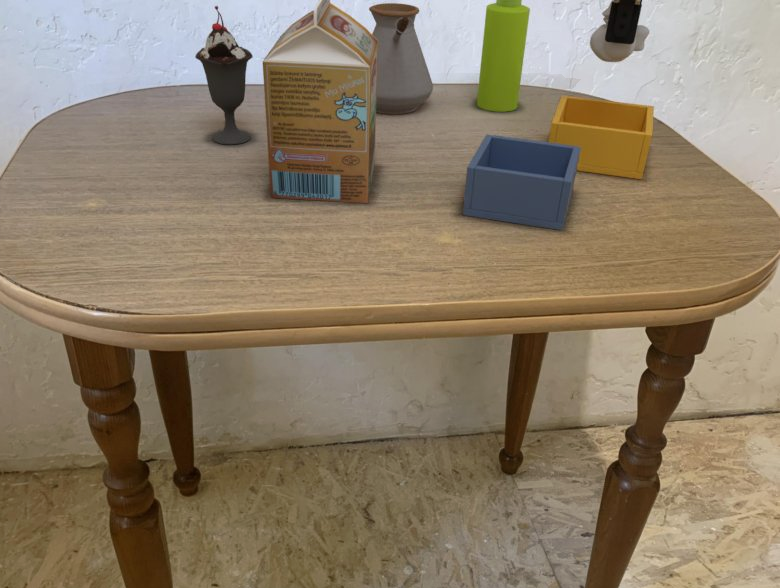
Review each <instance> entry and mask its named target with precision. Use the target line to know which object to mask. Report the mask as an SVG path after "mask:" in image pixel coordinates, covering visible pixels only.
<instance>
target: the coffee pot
mask: <svg viewBox="0 0 780 588" xmlns="http://www.w3.org/2000/svg"><path fill="white" fill-rule="evenodd" d="M368 10H369V12H370V13H371V15H372V17H373V20H374V22H375V26H374V29H373V31H372V33H371V34H372V35H373V36H374V37H375V38H376V40H377V41H378V49H377V91H376V113H379V114H381V113H382V114H389V115H401V114H403V115H404V114H408V113H413V112H415V111H417V110H418V109H419V108H420V106H421V105H424V104H425V102H427V100H428V99H429V98H430V96H431V94H432V93H433V90H434V83H433V80H432V78H431V75H430V72H429V69H428V65H427V62H426V60H425V56H424V53H423V50H422V47H421V44H420V41H419V37H418V35H417V32H416V29H415V20H416V17H417V15H418V14H419V13H420V8H419V7H417V6H415V5H411V4H407V3H397V2H391V3H390V2H387V3H386V2H385V3H378V4H374V5H372V6H370V7H368Z"/></svg>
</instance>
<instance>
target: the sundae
mask: <svg viewBox="0 0 780 588" xmlns="http://www.w3.org/2000/svg"><path fill="white" fill-rule="evenodd" d="M214 9H215V10H216V12H217V20H216V22H215V23H213V24H212V25H211V29H212V30H211V31H210V33H209V34H207V37H206V41H205V46H204V47H202V48H201V49H200V50H199V51H197V52H196V53H195V59H197V60H198V61H200V63H201V64H202V67H203V71H204V74H205V78H206V84H207V88H208V91H209V95H210V99H211V100H212V102H213V104H215V105H216V107H217V108H219V109H220V110H221V111H223V114H224V127H223V129H222V130H220V131H218V132H215V133H214V134H212V135H211V140H212V141H213V142H215V143H217V144H220V145H225V146H226V145H227V146H235V145H240V144H241V145H242V144H245V143H247V142H249V141H250V140H251V139H252V135H251V134H250V133H249V132H247V131H244V130H240V129H239V128H238V126H237V124H236V118H235V112H236V110H237V109H238V108H239V107H240V106H241V105H242V104H243V102H244V101H245V96H246V95H245V94H246V73H247V66H248V63H249V60H251V59H252V58H253V54H252V53H251V51H249V50H248V49H247V48H244V47H243V46H239V44H238V42H237V41H236V38H235V37H234V36H233V34H232V33H231V32H230V31H229V30H228V28H227V27H226V26H225V23H224V20H223V16H222V14H221V12H220V11H219V6H218V5H215V6H214ZM219 20H220V21H221V24H220V23H219V22H220V21H219Z"/></svg>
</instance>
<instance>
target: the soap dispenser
mask: <svg viewBox="0 0 780 588" xmlns="http://www.w3.org/2000/svg"><path fill="white" fill-rule="evenodd" d="M522 1H523V0H495V2H493V3H489V4H487V5H486V6H485V7H486V8H485V9H486V10H485V20H484V28H483V30H484V31H483V37H482V48H481V57H480V69H479V77H478V87H477V88H478V89H477V98H476V106H477V107H478V108H479V109H482V110H485V111H490V112H496V113H505V112H506V113H507V112H513V111H515V110H517V108H518V103H519V96H520V87H521V82H522V81H521V79H522V73H523V66H524V59H525V57H524V56H525V50H526V44H527V43H526V42H527V36H528V29H529V19H530V14H531V13H530V11H531V8H530V7H528V6H526V5H523V4H522Z"/></svg>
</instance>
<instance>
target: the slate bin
mask: <svg viewBox="0 0 780 588" xmlns="http://www.w3.org/2000/svg"><path fill="white" fill-rule="evenodd" d="M580 150H581V147H579V146H572V145H565V144H557V143H549V142H548V141H541V140H533V139H526V138H519V137H511V136H510V137H509V136H504V135H503V136H502V135H496V134H495V135H494V134H485V136H484V138H483V139H482V141H481V143H480V145H479V146H478V148H477V150H476V151H475V153H474V155H473V157H472V158H471V160H470V162H469V163H468V165H467V167H466V176H465V187H464V196H463V206H462V216H465V217H473V218H479V219H485V220H492V221H498V222H504V223H505V222H506V223H512V224H516V225H517V224H518V225H525V226H531V227H537V228H544V229H551V230H556V231H563V230H564V228H565V227H564V226H565V222H566V219H567V215H568V211H569V207H570V203H571V200H572V195H573V192H574V186H575V180H576V176H577V172H578V171H577V166H578V160H579V155H580Z"/></svg>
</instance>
